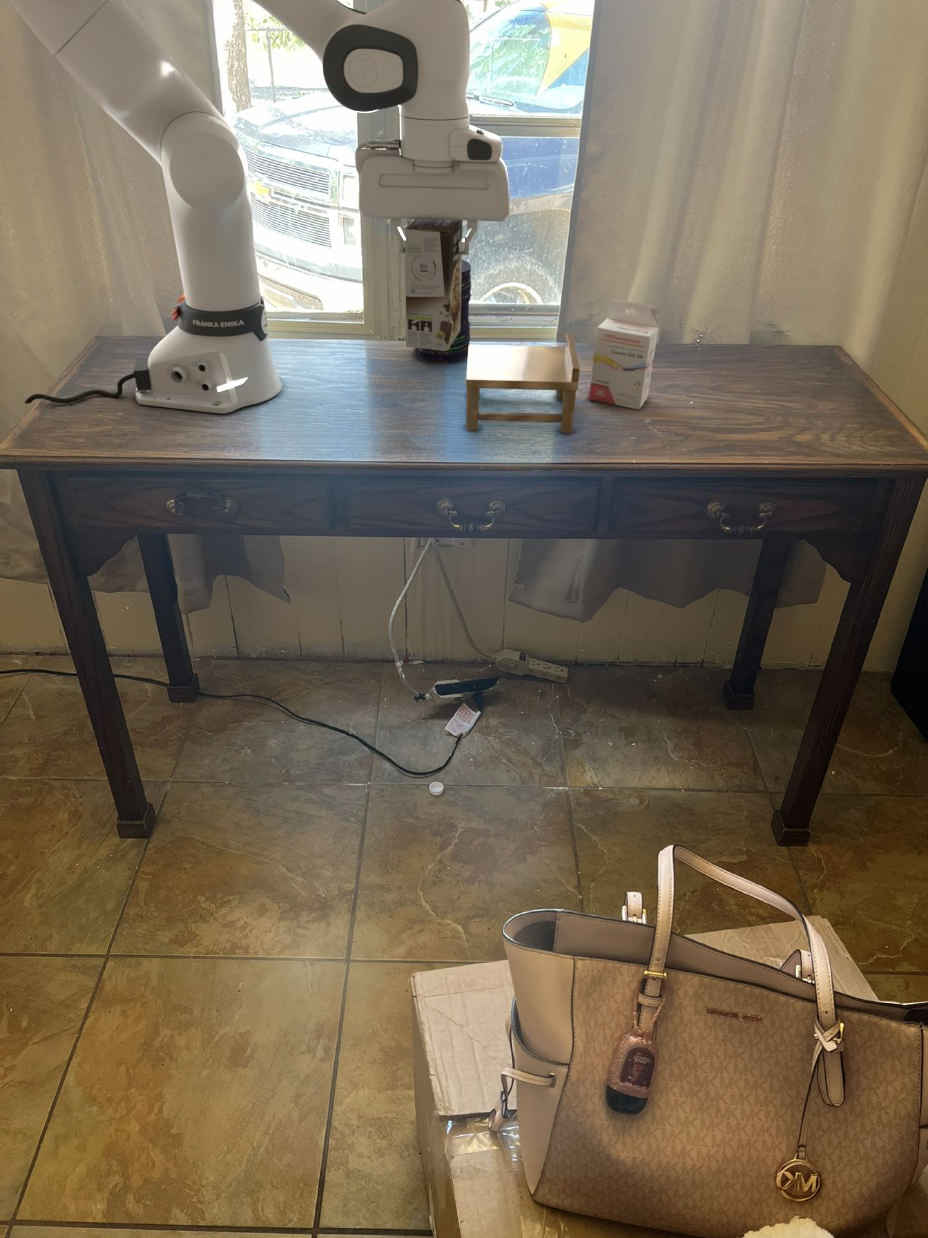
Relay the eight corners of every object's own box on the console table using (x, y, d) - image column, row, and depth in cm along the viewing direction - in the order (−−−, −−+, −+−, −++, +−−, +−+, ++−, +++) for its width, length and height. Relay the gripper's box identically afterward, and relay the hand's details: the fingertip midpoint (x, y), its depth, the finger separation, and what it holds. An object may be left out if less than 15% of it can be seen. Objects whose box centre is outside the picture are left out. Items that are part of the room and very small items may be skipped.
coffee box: (448, 352, 126) (450, 231, 116) (404, 347, 127) (402, 227, 117) (462, 330, 133) (464, 215, 123) (420, 326, 134) (419, 211, 124)
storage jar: (454, 367, 150) (455, 277, 141) (403, 358, 154) (401, 268, 145) (479, 349, 158) (481, 261, 149) (429, 340, 161) (429, 254, 152)
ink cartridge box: (587, 400, 141) (597, 306, 132) (597, 389, 144) (607, 297, 135) (640, 410, 138) (653, 315, 129) (648, 398, 141) (662, 305, 132)
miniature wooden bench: (465, 431, 131) (466, 365, 125) (467, 393, 142) (468, 331, 136) (573, 434, 131) (579, 368, 125) (567, 395, 142) (573, 333, 136)
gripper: (350, 142, 112) (356, 256, 120) (512, 146, 111) (507, 261, 120) (357, 134, 117) (362, 244, 125) (512, 138, 116) (507, 248, 125)
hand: (434, 252), depth 122 cm, fingers closed on coffee box, 7 cm apart
